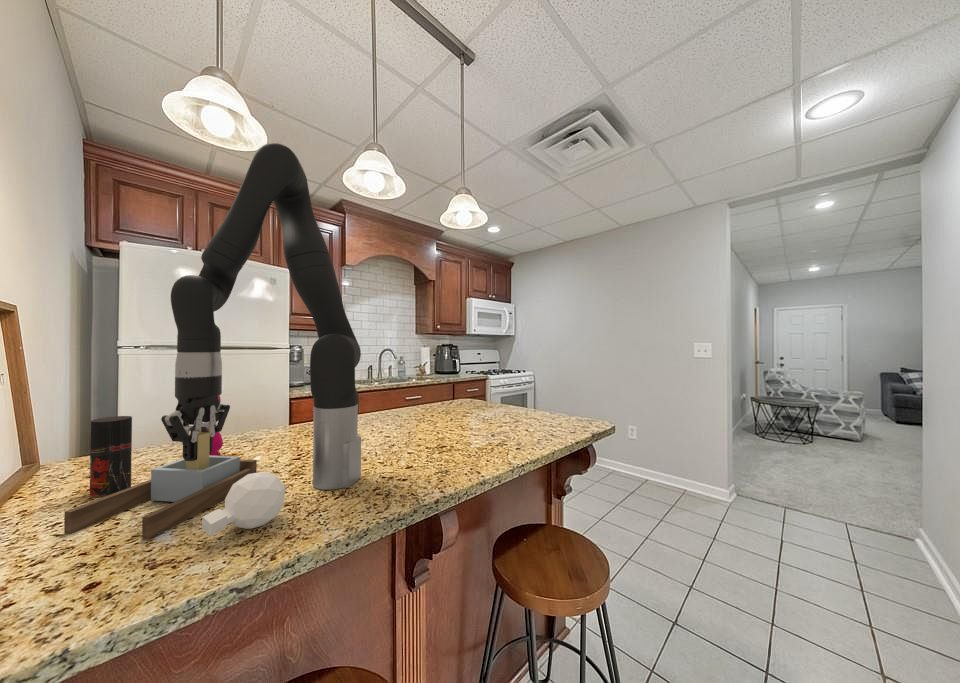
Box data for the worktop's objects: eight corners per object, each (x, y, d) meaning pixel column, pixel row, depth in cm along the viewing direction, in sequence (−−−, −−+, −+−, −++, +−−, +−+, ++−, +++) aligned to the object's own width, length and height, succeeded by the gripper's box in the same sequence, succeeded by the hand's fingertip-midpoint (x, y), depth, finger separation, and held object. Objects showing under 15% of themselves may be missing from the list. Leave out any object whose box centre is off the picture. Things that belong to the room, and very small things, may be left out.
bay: (256, 482, 77) (256, 459, 77) (148, 539, 54) (149, 507, 54) (193, 479, 78) (194, 457, 78) (64, 533, 56) (64, 502, 56)
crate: (239, 484, 75) (240, 429, 75) (202, 503, 66) (202, 440, 66) (193, 481, 76) (194, 427, 76) (150, 500, 67) (151, 438, 67)
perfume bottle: (264, 495, 66) (190, 534, 55) (268, 454, 64) (191, 486, 53) (294, 519, 63) (221, 564, 52) (299, 476, 60) (224, 514, 50)
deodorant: (137, 487, 74) (138, 417, 74) (99, 498, 68) (100, 423, 68) (121, 483, 76) (121, 415, 76) (82, 494, 70) (83, 420, 70)
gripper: (183, 377, 64) (181, 471, 64) (242, 371, 78) (241, 448, 78) (147, 377, 65) (145, 469, 65) (212, 371, 79) (211, 447, 78)
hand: (198, 457), depth 71 cm, fingers closed on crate, 2 cm apart
